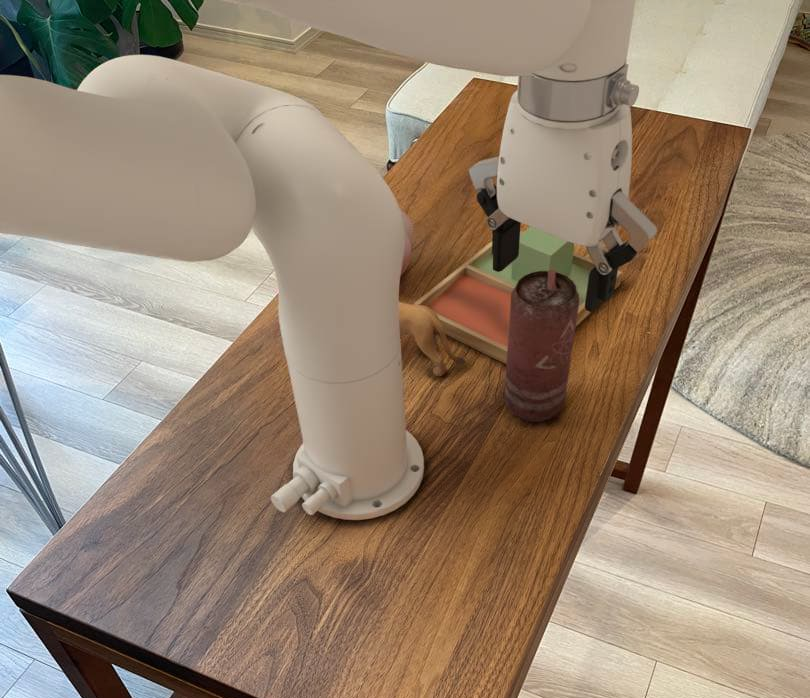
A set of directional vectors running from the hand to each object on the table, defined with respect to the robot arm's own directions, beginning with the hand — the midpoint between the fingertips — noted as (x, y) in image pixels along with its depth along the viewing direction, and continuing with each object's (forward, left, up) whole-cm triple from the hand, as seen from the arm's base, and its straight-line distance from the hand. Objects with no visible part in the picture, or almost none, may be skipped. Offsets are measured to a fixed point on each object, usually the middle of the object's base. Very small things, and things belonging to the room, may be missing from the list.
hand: (550, 283), depth 74 cm
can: (0, 0, -15) cm, 15 cm away
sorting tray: (+12, +11, -14) cm, 22 cm away
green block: (+17, +11, -14) cm, 24 cm away
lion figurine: (-3, +16, -15) cm, 22 cm away
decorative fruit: (+6, +26, -15) cm, 30 cm away
